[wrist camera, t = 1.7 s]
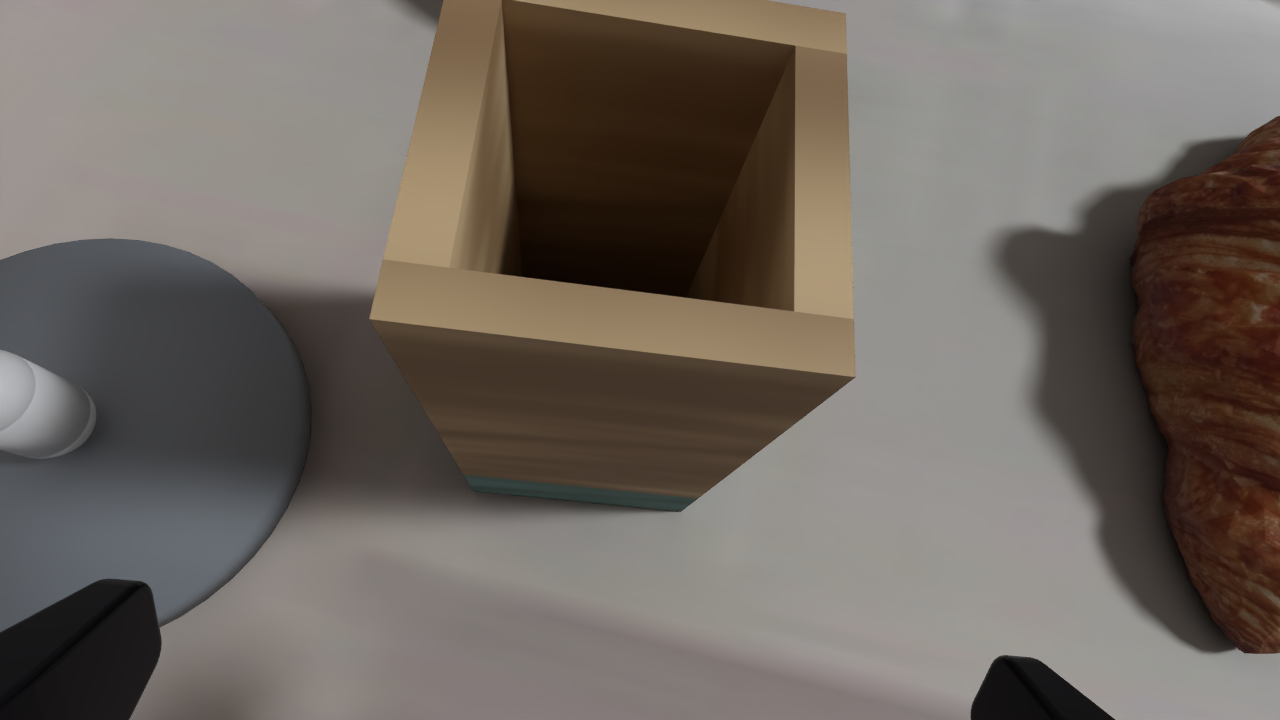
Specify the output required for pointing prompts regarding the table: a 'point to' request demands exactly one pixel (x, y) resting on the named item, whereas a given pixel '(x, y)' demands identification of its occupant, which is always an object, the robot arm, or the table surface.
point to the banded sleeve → (623, 241)
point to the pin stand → (139, 424)
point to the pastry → (1218, 377)
